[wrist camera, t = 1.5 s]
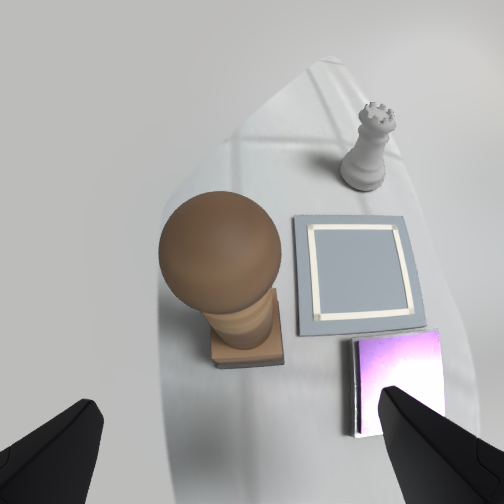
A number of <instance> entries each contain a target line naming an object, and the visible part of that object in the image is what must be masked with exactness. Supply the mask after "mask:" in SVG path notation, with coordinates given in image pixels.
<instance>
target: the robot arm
mask: <svg viewBox="0 0 504 504" xmlns="http://www.w3.org/2000/svg"><path fill="white" fill-rule="evenodd" d="M377 412H378V416H379V420H380V424H381V428H382V432H383V436H384V440H385V445H386V449H387V452H388V455H389V458H390V461H391V463H392V466H393V469H394V472H395V474H396V477H397V480H398V483H399V486H400V488H401V491H402V494H403V497H404V500H405V503H406V504H504V452H503V451H501V450H499V449H497V448H495V447H493V446H492V445H490V444H488V443H486V442H485V441H483V440H481V439H480V438H477V437H476V436H475V435H473V434H471V433H470V432H468V431H466V430H465V429H463V428H462V427H460V426H458V425H457V424H455V423H454V422H452V421H450V420H449V419H447V418H446V417H444V416H442V415H441V414H439V413H438V412H436V411H434V410H433V409H431V408H430V407H428V406H427V405H425V404H424V403H422V402H420V401H419V400H417V399H416V398H414V397H413V396H411V395H410V394H408V393H407V392H405V391H404V390H402V389H400V388H399V387H397V386H395V385H391V386H387V387H384V388H382V390H381V393H380V397H379V401H378V405H377ZM103 424H104V418H103V415H102V414H101V412H100V410H99V409H98V407H97V405H96V403H95V402H94V401H93V400H89V399H81V400H80V401H78V402H77V403H75V404H74V405H72V406H71V407H69V408H68V409H66V410H65V411H64V412H62V413H60V414H59V415H57V416H56V417H54V418H53V419H51V420H50V421H48V422H47V423H45V424H43V425H42V426H40V427H39V428H37V429H36V430H34V431H33V432H31V433H30V434H28V435H27V436H25V437H23V438H22V439H21V440H19V441H17V442H15V443H14V444H12V445H11V446H9V447H8V448H6V449H4V450H3V451H1V452H0V504H85V501H86V497H87V493H88V489H89V486H90V482H91V478H92V475H93V471H94V468H95V464H96V460H97V456H98V451H99V445H100V440H101V434H102V429H103Z"/></svg>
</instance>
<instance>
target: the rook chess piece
mask: <svg viewBox="0 0 504 504" xmlns="http://www.w3.org/2000/svg"><path fill="white" fill-rule="evenodd" d="M385 108H386V106H385V105H383V104H381V105H380V108H378V107H376V103H375V102H370V105H368V104H366V105H365V108H364V109H363V110H361V111H360V113H359V114H358V115H359V119H360V121H361V123H362V125H360V126H359V128H358V133H359V137H358V140H357V142H356V144H355V147H354V148H353V149H351V150H350V152H348V153H347V154H346V156H345V157H344V159H343V163H342V165H341V166H340V173H341V175H342V177H343V178H344V180H345V181H346V182H347V183H348V184H349V185H350V186H351V187H353V188H355V189H357V190H362V191H370V190H375V189H377V188H378V187H380V186H381V185H382V183H383V181H384V176H385V165H384V159H383V152H384V146H385V143H387V142H388V140H389V135H388V133H389V132H391V131H393V130H394V129H395V128H396V123H395V121H394V115H393V111H392V110H391V109H388V112H387V111H386V110H385Z"/></svg>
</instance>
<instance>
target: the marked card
mask: <svg viewBox="0 0 504 504" xmlns="http://www.w3.org/2000/svg"><path fill="white" fill-rule="evenodd" d="M294 226H295V241H296V259H297V279H298V302H299V334H300V337H302V336H327V335H345V334H360V333H373V332H384V331H394V330H404V329H413V328H421V327H425V326H427V324H426V317H425V311H424V305H423V299H422V294H421V288H420V283H419V278H418V273H417V269H416V264H415V260H414V256H413V251H412V247H411V243H410V239H409V236H408V232H407V228H406V225H405V221H404V218H403V216H374V215H294Z"/></svg>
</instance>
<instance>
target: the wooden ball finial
mask: <svg viewBox="0 0 504 504" xmlns="http://www.w3.org/2000/svg"><path fill="white" fill-rule="evenodd" d="M158 254H159V265H160V268H161V272H162V275H163V277H164V279H165V282H166V283H167V285H168V286H169V288H170V289H171V291H172V292H173V293H174V294H175V295H176V297H178V298H179V299H180V300H181V301H182V302H184V303H185V304H186V305H188V306H190V307H191V308H194V309H196V310H198V311H200V312H201V314H202V315H203V316H204V317H205V319H206V320H207V321H208V322H209V324H210V325H211V354H212V359H213V360H214V361H216V362H217V363H218V368H219V369H235V368H251V367H264V366H275V365H284V353H283V343H282V333H281V323H280V313H279V303H278V301H277V293H276V288H273V289H272V285H273V283H274V281H275V279H276V277H277V274H278V272H279V268H280V263H281V242H280V238H279V234H278V232H277V229H276V226H275V224H274V223H273V221H272V219H271V218H270V217H269V215H268V214H267V213H266V211H265V210H264V209H263V208H262V207H260V206H259V205H258V204H257V203H255V202H254V201H252V200H251V199H249V198H247V197H245V196H242V195H240V194H236V193H233V192H226V191H215V192H208V193H204V194H200V195H198V196H195V197H193V198H191V199H189V200H188V201H186V202H185V203H183V204H182V205H181V206H179V207H178V208H177V209H176V210H175V211H174V212H173V214H172V215H171V216H170V218H169V219H168V221H167V223H166V224H165V226H164V228H163V231H162V234H161V237H160V242H159V253H158Z"/></svg>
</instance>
